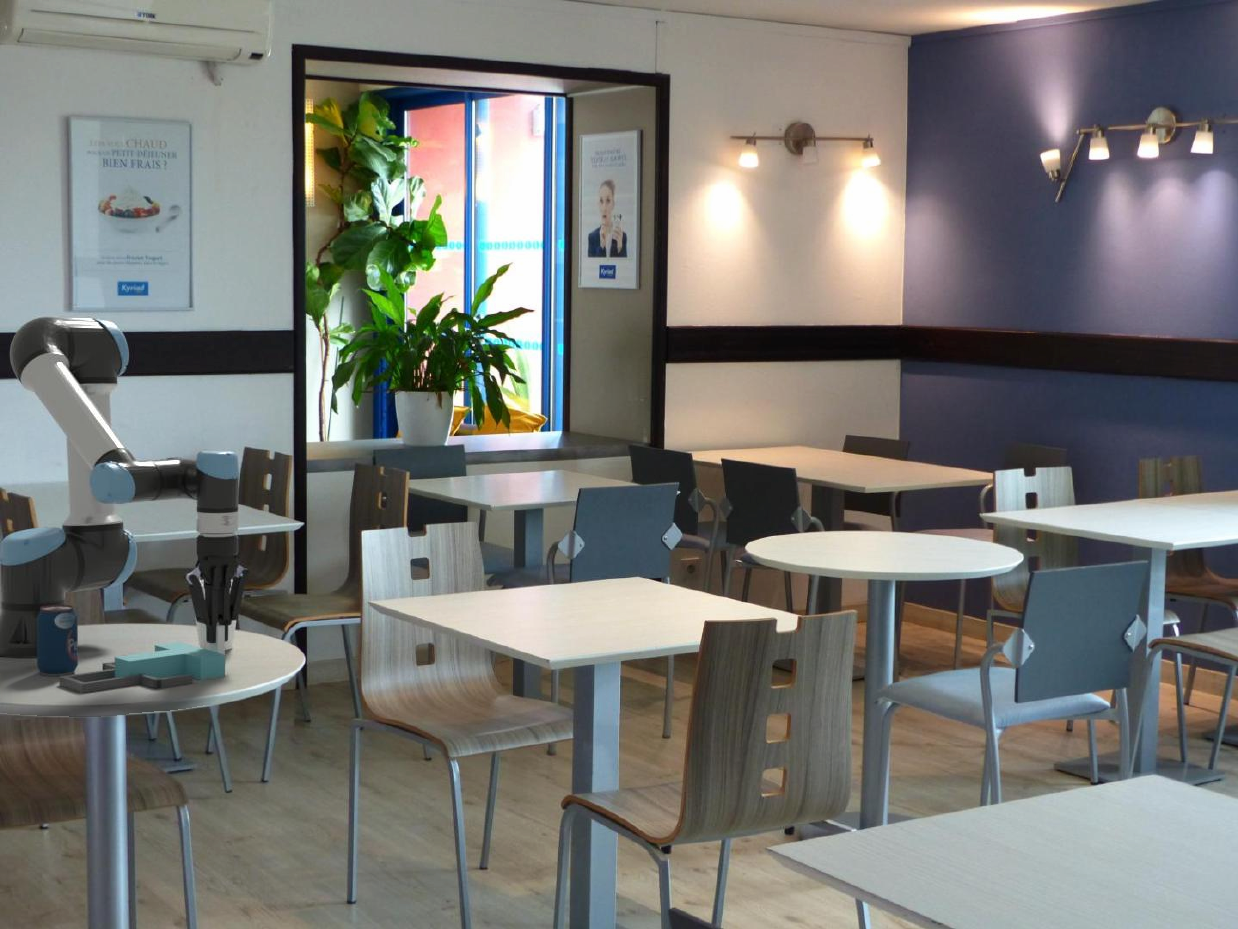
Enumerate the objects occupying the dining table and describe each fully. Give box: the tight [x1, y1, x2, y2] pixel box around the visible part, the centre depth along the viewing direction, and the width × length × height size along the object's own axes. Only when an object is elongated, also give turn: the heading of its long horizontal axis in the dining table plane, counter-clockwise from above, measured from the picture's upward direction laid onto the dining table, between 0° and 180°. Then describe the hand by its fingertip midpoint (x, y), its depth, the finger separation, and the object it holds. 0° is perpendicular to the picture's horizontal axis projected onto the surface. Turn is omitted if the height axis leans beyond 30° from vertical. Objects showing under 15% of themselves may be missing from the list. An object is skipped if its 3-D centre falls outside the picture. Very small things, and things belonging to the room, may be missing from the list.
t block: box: [114, 641, 226, 681], centre depth 279 cm, size 16×16×4 cm
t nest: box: [58, 661, 194, 694], centre depth 273 cm, size 18×19×2 cm
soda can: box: [36, 604, 79, 677], centre depth 279 cm, size 7×7×12 cm
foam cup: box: [194, 579, 237, 651], centre depth 305 cm, size 10×9×13 cm
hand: (217, 659), depth 288 cm, fingers closed
